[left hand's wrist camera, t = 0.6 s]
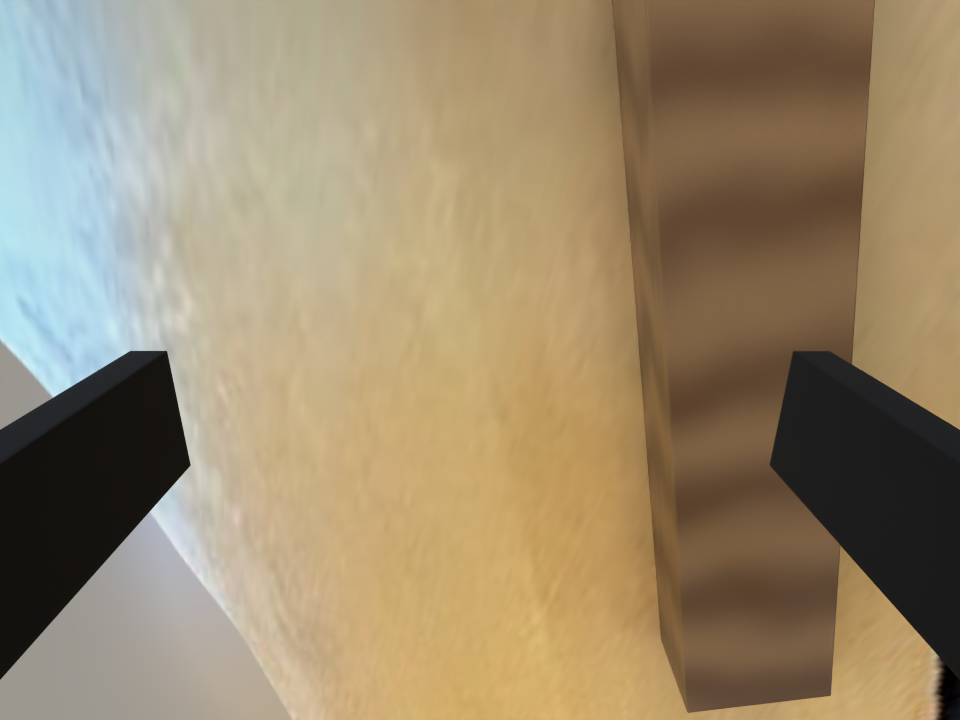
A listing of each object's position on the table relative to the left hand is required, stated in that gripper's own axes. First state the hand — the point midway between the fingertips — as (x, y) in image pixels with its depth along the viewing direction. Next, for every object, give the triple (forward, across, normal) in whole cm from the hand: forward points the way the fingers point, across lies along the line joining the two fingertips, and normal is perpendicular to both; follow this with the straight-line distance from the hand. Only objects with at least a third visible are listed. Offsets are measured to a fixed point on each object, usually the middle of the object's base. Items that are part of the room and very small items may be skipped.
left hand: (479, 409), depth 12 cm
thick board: (+24, +15, -6) cm, 29 cm away
